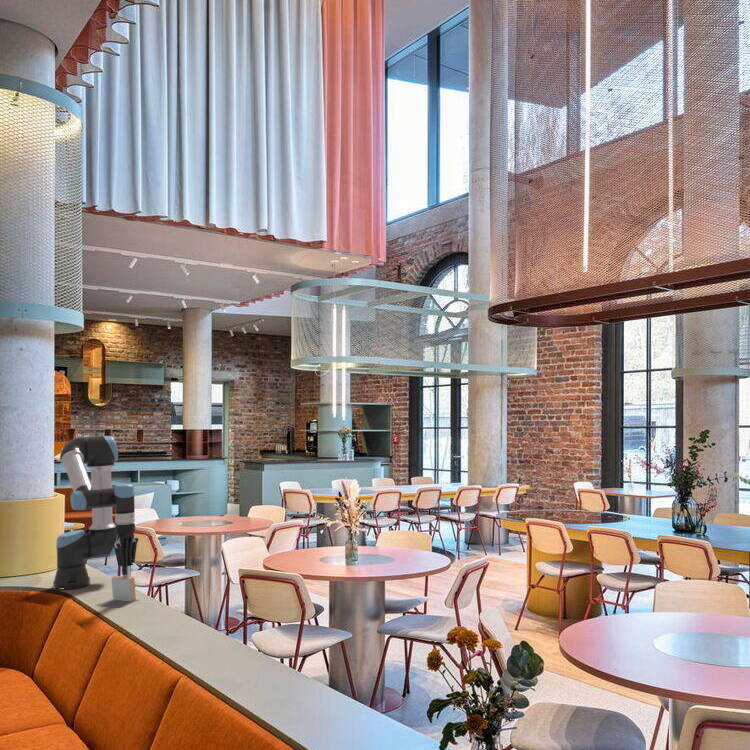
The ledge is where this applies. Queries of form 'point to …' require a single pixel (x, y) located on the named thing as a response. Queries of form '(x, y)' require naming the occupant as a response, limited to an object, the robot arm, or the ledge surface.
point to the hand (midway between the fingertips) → (126, 582)
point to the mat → (115, 603)
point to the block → (123, 588)
